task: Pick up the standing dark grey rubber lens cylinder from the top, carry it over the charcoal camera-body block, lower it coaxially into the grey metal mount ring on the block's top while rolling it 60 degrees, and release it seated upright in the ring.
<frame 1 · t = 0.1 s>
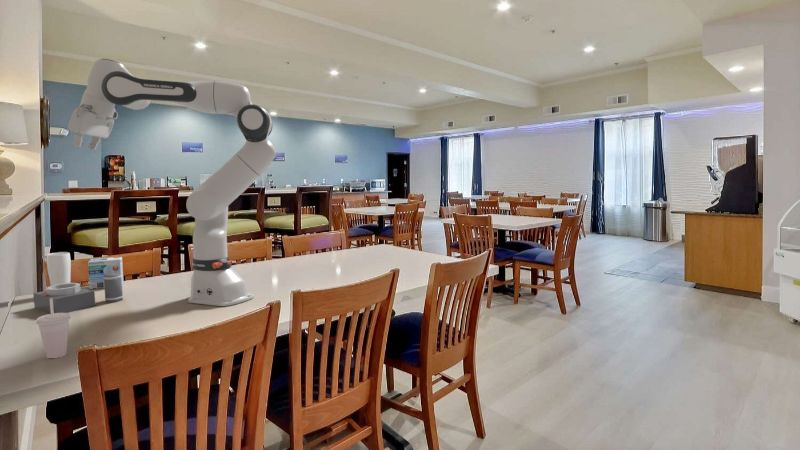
hand: (84, 148, 142), 52 cm above the table, tool tilted 20°, fingers open, 8 cm apart
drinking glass: (61, 295, 157), on the table
light bulb box: (107, 286, 169), on the table
lens: (114, 300, 150), on the table
smoothie: (56, 356, 104), on the table
camera body: (65, 306, 142), on the table
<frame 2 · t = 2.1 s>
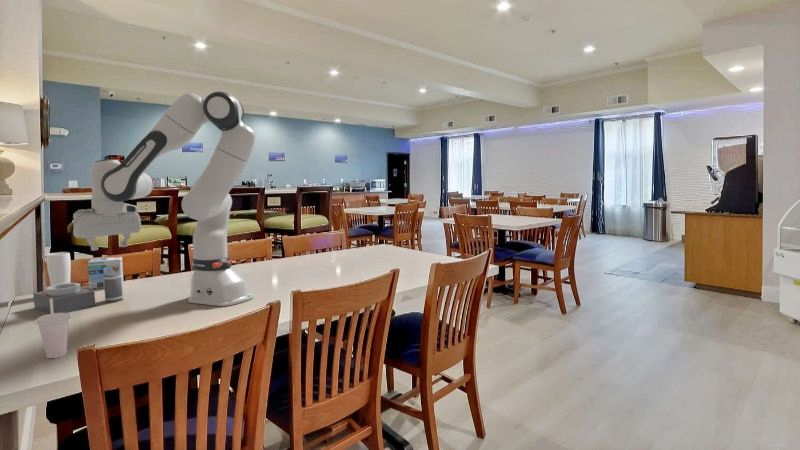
hand: (109, 248, 148), 18 cm above the table, tool pointing down, fingers open, 8 cm apart
nothing on the table moved.
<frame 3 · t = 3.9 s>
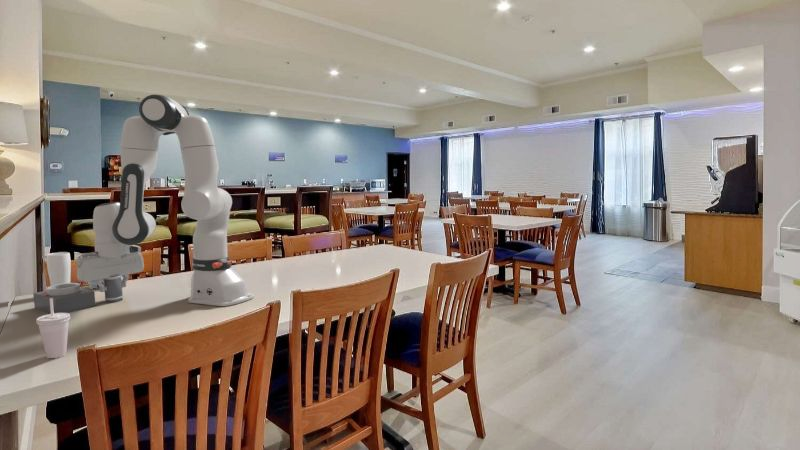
hand: (113, 289, 150), 4 cm above the table, tool pointing down, fingers closed on lens, 5 cm apart
lens: (114, 300, 150), on the table, touching gripper
everything else where it was.
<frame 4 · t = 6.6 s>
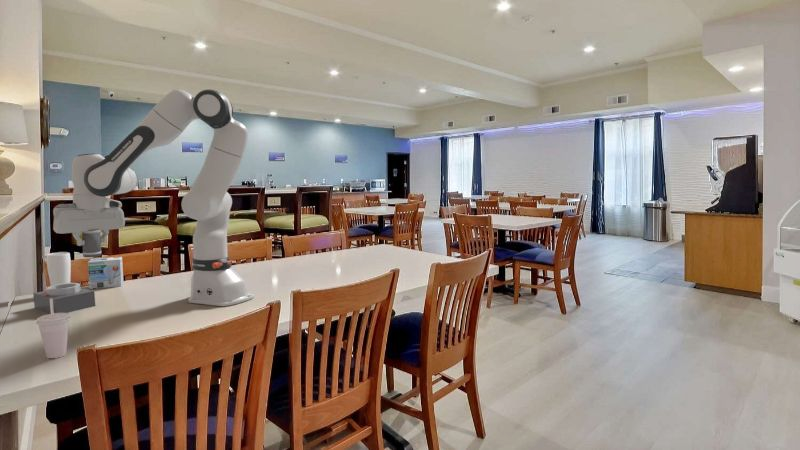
hand: (91, 244, 145), 20 cm above the table, tool pointing down, fingers closed on lens, 5 cm apart
lens: (92, 256, 145), point 16 cm above the table, touching gripper
everything else where it was.
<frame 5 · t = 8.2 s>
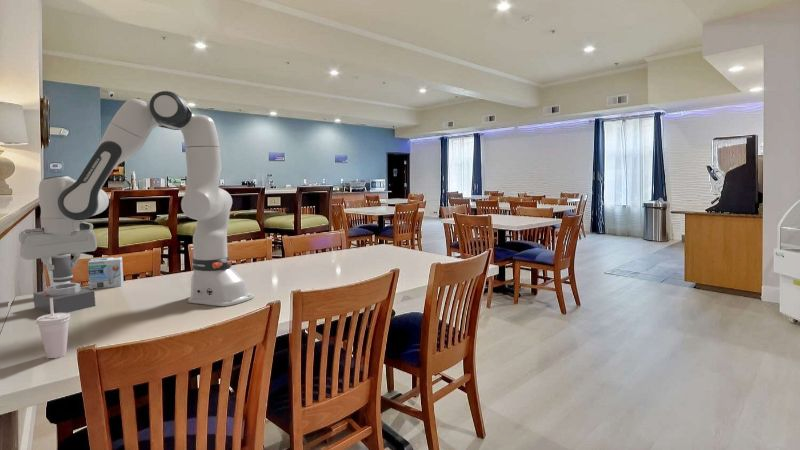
hand: (62, 268, 141), 13 cm above the table, tool pointing down, fingers closed on lens, 5 cm apart
lens: (63, 280, 141), point 9 cm above the table, touching gripper
everything else where it was.
when the fingers open (10 cm above the table, at t = 9.5 s): lens stays where it is, resting on camera body.
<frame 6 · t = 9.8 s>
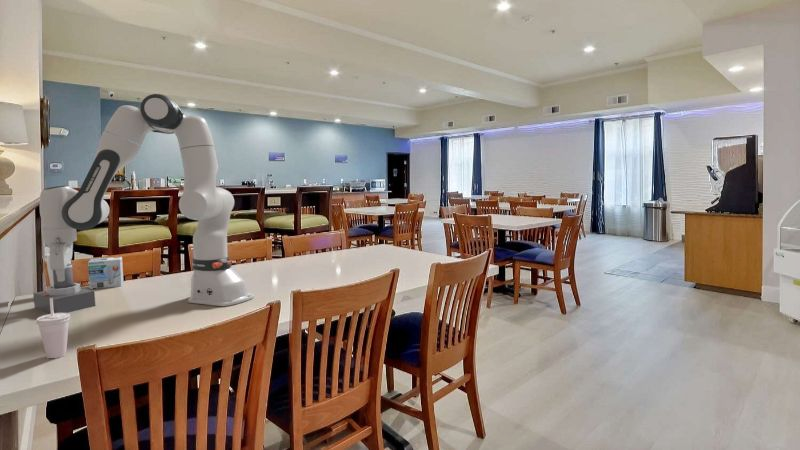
hand: (63, 278, 141), 10 cm above the table, tool pointing down, fingers open, 7 cm apart
lens: (64, 292, 142), point 5 cm above the table, touching camera body
everything else where it was.
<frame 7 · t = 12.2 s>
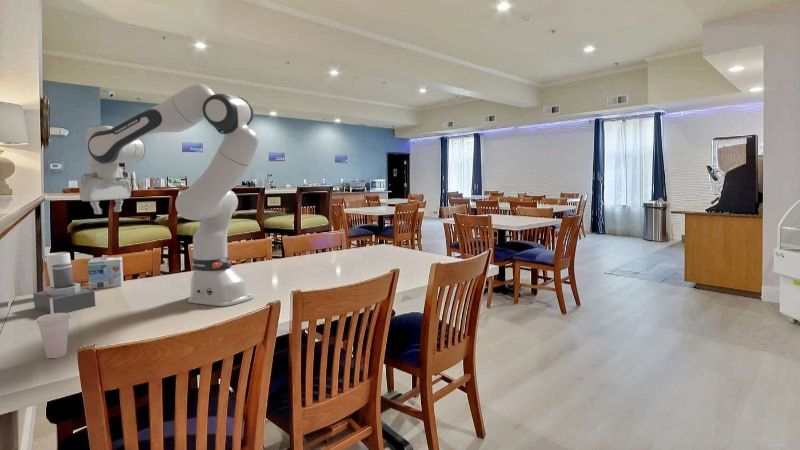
hand: (108, 212, 152), 30 cm above the table, tool pointing down, fingers open, 8 cm apart
nothing on the table moved.
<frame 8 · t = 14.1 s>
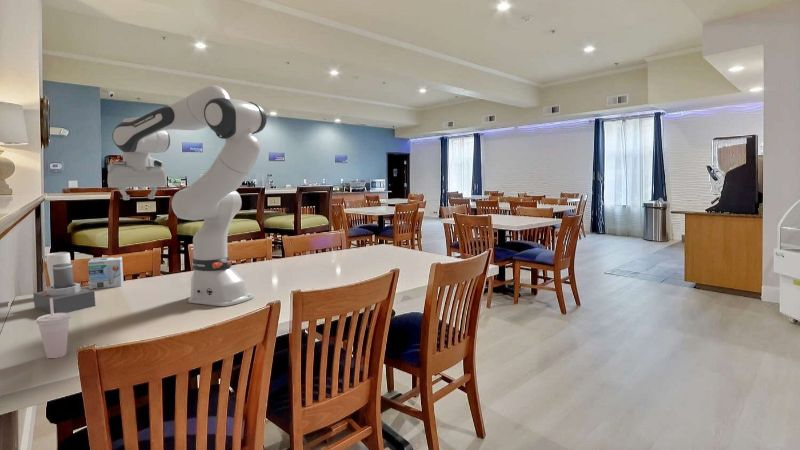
hand: (139, 199, 163), 34 cm above the table, tool pointing down, fingers open, 8 cm apart
nothing on the table moved.
at the end: lens 0.1 cm off-centre on the camera body, point 5.0 cm above the camera body's base; lens tilted 1°; the gripper is holding nothing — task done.
